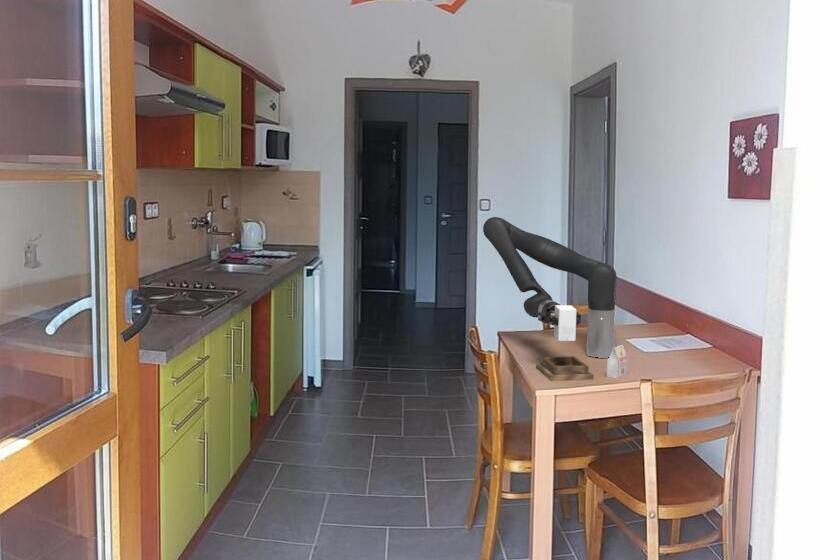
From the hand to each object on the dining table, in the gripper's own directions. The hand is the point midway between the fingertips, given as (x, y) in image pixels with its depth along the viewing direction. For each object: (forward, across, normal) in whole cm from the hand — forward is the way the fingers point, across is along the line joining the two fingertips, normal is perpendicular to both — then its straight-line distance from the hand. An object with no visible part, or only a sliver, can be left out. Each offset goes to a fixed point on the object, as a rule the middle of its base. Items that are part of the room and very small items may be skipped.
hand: (567, 322), depth 234 cm
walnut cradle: (-2, 0, +18) cm, 18 cm away
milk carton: (+3, +16, +18) cm, 24 cm away
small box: (-2, 0, +6) cm, 7 cm away
